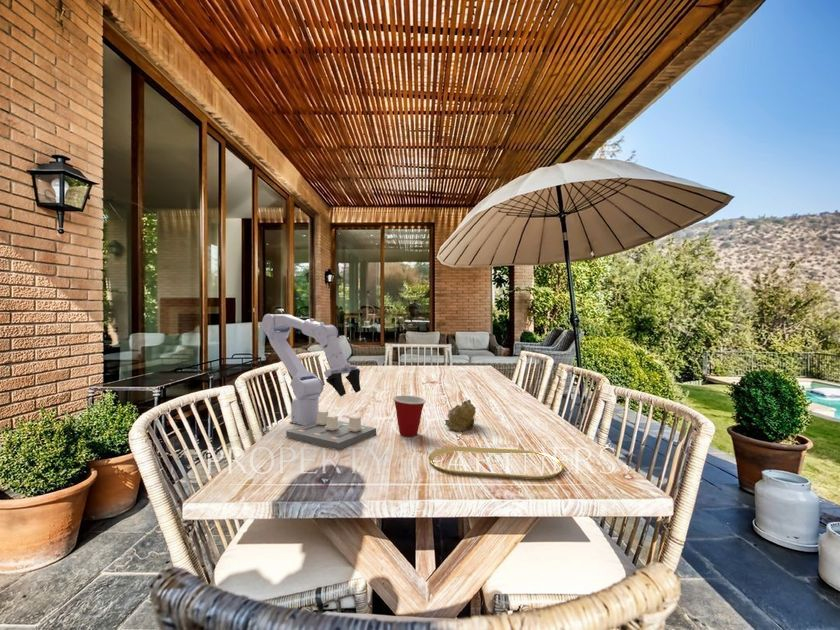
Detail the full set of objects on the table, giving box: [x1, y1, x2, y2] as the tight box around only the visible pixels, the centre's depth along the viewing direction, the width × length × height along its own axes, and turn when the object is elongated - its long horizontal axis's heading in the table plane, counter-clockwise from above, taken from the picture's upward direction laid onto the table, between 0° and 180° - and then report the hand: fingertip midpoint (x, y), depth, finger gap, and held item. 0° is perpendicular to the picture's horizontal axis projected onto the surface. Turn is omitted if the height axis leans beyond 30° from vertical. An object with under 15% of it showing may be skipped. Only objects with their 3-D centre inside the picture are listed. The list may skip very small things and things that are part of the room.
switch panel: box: [285, 420, 377, 451], centre depth 132 cm, size 22×18×2 cm
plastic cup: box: [393, 395, 427, 438], centre depth 135 cm, size 11×11×12 cm
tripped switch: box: [325, 414, 339, 431], centre depth 132 cm, size 3×3×4 cm
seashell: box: [444, 399, 477, 433], centre depth 145 cm, size 11×14×10 cm
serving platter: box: [427, 445, 564, 480], centre depth 109 cm, size 19×35×2 cm, turn 82°
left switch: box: [316, 409, 329, 425], centre depth 138 cm, size 3×3×4 cm
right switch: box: [348, 415, 362, 432], centre depth 131 cm, size 3×3×4 cm
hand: (350, 393), depth 137 cm, fingers open, 7 cm apart
